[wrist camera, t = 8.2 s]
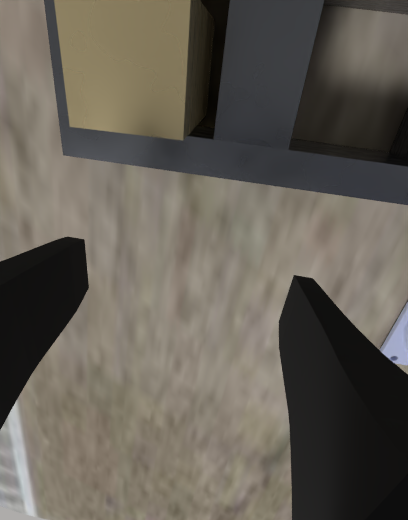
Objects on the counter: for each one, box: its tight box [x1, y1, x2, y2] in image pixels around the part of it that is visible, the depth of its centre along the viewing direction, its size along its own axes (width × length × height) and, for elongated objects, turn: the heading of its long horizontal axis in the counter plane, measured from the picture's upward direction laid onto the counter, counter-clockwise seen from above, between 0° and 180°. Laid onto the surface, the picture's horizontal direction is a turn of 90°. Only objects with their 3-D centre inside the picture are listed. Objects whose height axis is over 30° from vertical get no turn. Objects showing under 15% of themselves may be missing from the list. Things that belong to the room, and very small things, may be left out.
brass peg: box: [54, 0, 215, 140], centre depth 13 cm, size 4×4×7 cm
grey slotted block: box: [44, 0, 408, 205], centre depth 14 cm, size 18×9×3 cm, turn 84°
